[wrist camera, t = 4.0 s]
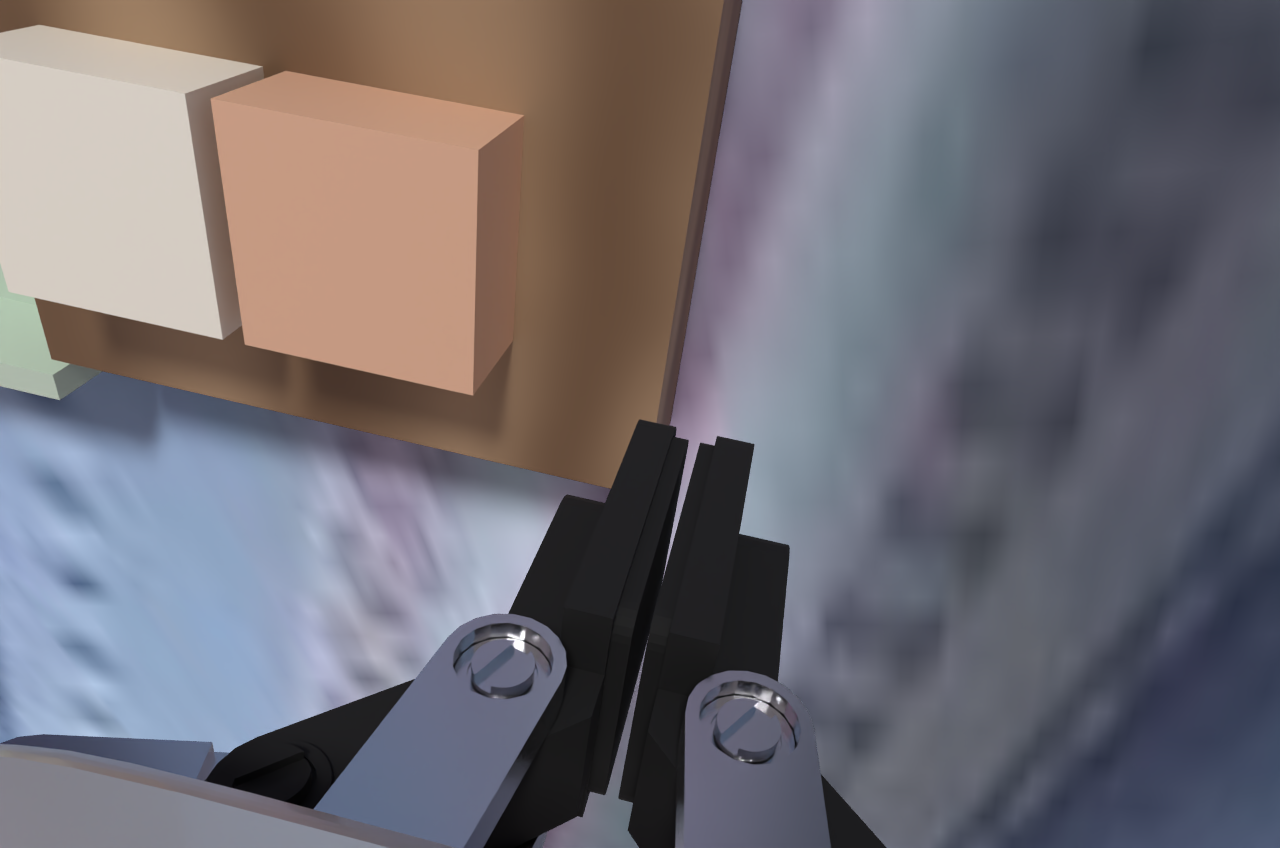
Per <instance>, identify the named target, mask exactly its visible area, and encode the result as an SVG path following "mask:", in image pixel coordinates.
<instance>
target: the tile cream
mask: <svg viewBox="0 0 1280 848" xmlns="http://www.w3.org/2000/svg"><path fill="white" fill-rule="evenodd" d="M262 79H264V73H263V66H257V65H252V64H247V63H241V62H236V61H231V60H225V59H220V58H215V57H209V56H204V55H198V54H193V53H188V52H182V51H177V50H172V49H166V48H161V47H156V46H150V45H145V44H140V43H134V42H129V41H124V40H118V39H113V38H107V37H102V36H97V35H91V34H86V33H81V32H75V31H70V30H65V29H59V28H54V27H49V26H43V25H36V26H31V27H26V28H21V29H16V30H11V31H7V32H2V33H0V264H1V268H2V271H3V274H4V278H5V281H6V285H7V288H8V291H9V292H11V293H16V294H20V295H25V296H29V297H34V298H38V299H43V300H47V301H52V302H56V303H61V304H65V305H70V306H74V307H79V308H83V309H87V310H92V311H96V312H101V313H105V314H110V315H114V316H119V317H123V318H128V319H132V320H137V321H141V322H146V323H150V324H155V325H159V326H164V327H168V328H173V329H177V330H181V331H186V332H190V333H195V334H199V335H204V336H208V337H213V338H217V339H222V340H223V339H224V338H226V337H227V336H228V335H230V334H231V333H232V332H234V331H235V330H236V329H238V328H239V327H240V326H242V321H241V314H240V306H239V299H238V292H237V285H236V278H235V271H234V263H233V256H232V249H231V242H230V235H229V228H228V220H227V213H226V206H225V199H224V192H223V184H222V177H221V170H220V163H219V156H218V149H217V141H216V134H215V127H214V120H213V113H212V106H211V98H213V97H216V96H219V95H222V94H224V93H227V92H230V91H232V90H235V89H238V88H241V87H243V86H246V85H249V84H251V83H254V82H257V81H260V80H262Z"/></svg>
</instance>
